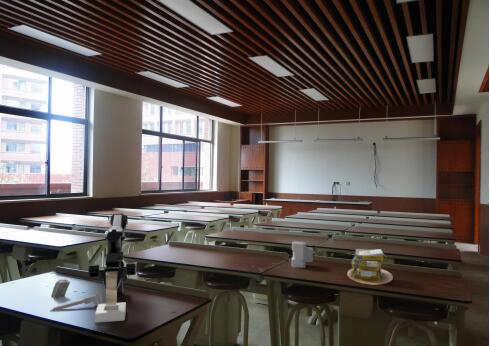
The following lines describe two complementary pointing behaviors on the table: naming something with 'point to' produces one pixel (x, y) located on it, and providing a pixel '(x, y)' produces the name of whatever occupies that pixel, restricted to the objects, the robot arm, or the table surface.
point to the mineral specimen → (60, 288)
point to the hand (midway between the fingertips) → (111, 288)
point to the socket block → (110, 312)
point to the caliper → (80, 302)
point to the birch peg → (111, 288)
